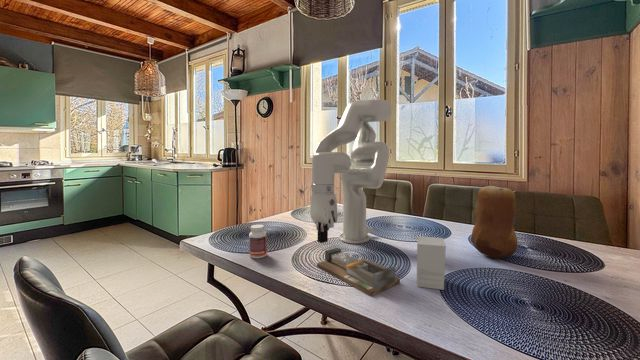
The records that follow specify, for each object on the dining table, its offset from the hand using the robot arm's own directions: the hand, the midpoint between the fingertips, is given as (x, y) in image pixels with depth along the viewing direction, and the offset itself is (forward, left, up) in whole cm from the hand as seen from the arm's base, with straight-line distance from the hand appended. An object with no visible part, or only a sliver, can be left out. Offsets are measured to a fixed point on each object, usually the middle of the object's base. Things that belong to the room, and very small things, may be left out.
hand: (322, 241), depth 103 cm
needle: (+1, +18, -5) cm, 19 cm away
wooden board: (-1, +16, -7) cm, 17 cm away
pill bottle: (+16, -17, -7) cm, 25 cm away
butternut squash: (-49, +35, -7) cm, 60 cm away
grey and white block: (-1, +10, -5) cm, 11 cm away
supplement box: (-14, +33, -7) cm, 36 cm away
